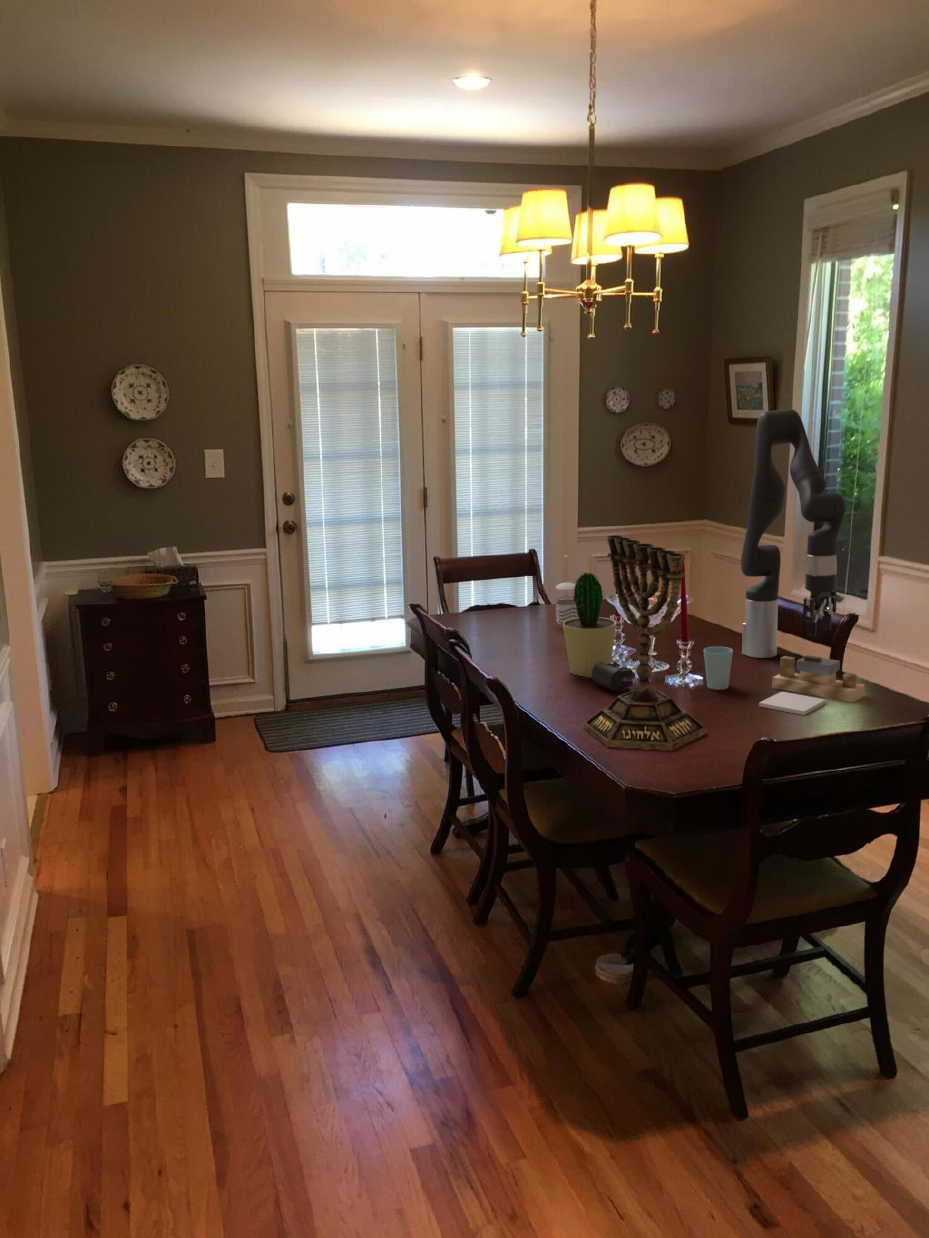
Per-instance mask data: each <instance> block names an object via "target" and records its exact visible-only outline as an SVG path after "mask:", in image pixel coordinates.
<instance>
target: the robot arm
mask: <svg viewBox="0 0 929 1238" xmlns="http://www.w3.org/2000/svg"><path fill="white" fill-rule="evenodd" d="M756 422H757V423H756V429H755V430H756V433H755V451H754V452H755V453H754V454H755V457H754V468H753V476H752V482H751V490H750V497H749V505H748V507H749V508H748V509H749V510H748V516H747V517H748V519H747V525H746V526H747V527H746V531H745V536H744V542H743V546H742V549H741V550H742V551H741V556H740V557H741V558H740V570H741V572H742V574H743V575H744V576H745V577H751V578H753V577H755V578H756V577H764V579H763V580H762V581H761V582H758V583H757V584H755V585H752V586H750V587H748V588H747V589H746V591H745V620H744V622H743V623H742V625H741V626H742V630H741V631H742V632H741V633H742V634H741V635H742V636H741V637H742V639H741V640H742V642H741V643H742V644H741V654H742V655H745V656H748V657H751V658H755V659H756V658H759V659H766V658H774V657H776V656H777V655H778V654H777V649H778V617H779V616H778V615H779V614H778V613H779V612H778V611H779V609H778V608H779V590H780V572H781V561H782V560H781V559H782V558H781V556H782V555H781V551H780V548H779V546H777V545H776V544H759V543H760V541H761V539H762V536H763V535H764V534H765V532H766V530H767V529H768V528H769V527H770V526H771V525H772V524H773V523H774V522H775V520H776V519H777V518H778V517H779V516H780V514H781V512H782V510H783V507H784V501H785V495H786V485H785V482H784V480H783V478H782V476H781V475H780V473H779V471H778V470H777V467H776V466H775V464H774V462H773V458H772V449H773V446H774V445H775V446H776V445H785V444H787V445H788V444H791V446H793V449H794V452H793V456H792V458H791V461H790V465H789V474H790V478H791V479H792V482H793V484H794V485H795V488H796V490H797V492H798V497H799V502H800V512H801V516H802V518H804V519H805V520H806V521H807V522H809V523H821V522H822V523H823V522H824V523H823V525H822V527H821V528H819V529H816V530H813V531H811V532H810V533H809V534H808V536H807V549H806V550H807V551H806V553H807V554H806V560H805V579H804V580H805V581H804V583H805V584H804V585H805V587H804V588H805V590H806V591H809V592H810V595H809V597H804V598H803V604H802V605H803V607H802V621H804V622H806V623H807V626H806V635H807V637H809V638H815V637H817V628H818V624H817V621H818V619H819V617H820V616H821V615H822V616H821V630H822V631H828V632H829V631H831V630H832V619H833V618H832V617H833V616H834V613H836V612H837V590H836V589H837V572H838V561H837V560H838V559H837V547H838V546H837V543H838V542H837V541H838V536H839V533H840V529H841V526H842V523H843V520H844V517H845V514H846V502H845V499H844V497H843V496H842V495H841V494H839V493H837V492H836V493H834V492H830V493H824V492H825V490H826V487H827V482H826V480H825V478H824V475H823V474H822V472H821V470H820V468H819V467H818V464H817V462H816V460H815V457H814V456H813V452H812V450H811V449H812V448H811V446H810V443H809V439H808V436H807V432H806V429H805V426H804V423H803V420H802V418H801V415H800V414H799V412H797V411H796V410H795V409H791V408H789V409H778V410H777V409H776V410H769V411H764V412H762V413H760V414H759V416H758V419H757V421H756Z"/></svg>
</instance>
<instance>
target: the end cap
mask: <svg viewBox="0 0 929 1238" xmlns="http://www.w3.org/2000/svg"><path fill="white" fill-rule="evenodd" d="M620 666H621V664H620V663H617V662H611V663H610V664H605V663H603V662H599V663H597V664H596V665H595V666H594V667H593V670H592V677H591V678H592V680H593V681H594V682H595V683H596V684H598V685H600V686H601V687H603V688H604V689H608V690H610V691H612V692H614V693H617V694H624V693H627V692H630V691H632V688H631V687H633V680H631V679H629V680H625V681H624V678H628V677H632V676H633V670H632V668H630V667H627V666H624V667H620Z"/></svg>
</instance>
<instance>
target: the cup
mask: <svg viewBox="0 0 929 1238" xmlns="http://www.w3.org/2000/svg"><path fill="white" fill-rule="evenodd" d="M733 654H734V650H733V649H732V648H731V647H726V646H708V647H705V648H704V649H703V658H704V669H705V678H706V686H707V688H708V689H711V690H716V691H718V690H719V691H720V690H726V689H728V688H729V684H730V683H729V682H730V678H731V677H730V675H731V669H732V668H731V667H732V659H733Z"/></svg>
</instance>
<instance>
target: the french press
mask: <svg viewBox="0 0 929 1238" xmlns="http://www.w3.org/2000/svg"><path fill="white" fill-rule="evenodd" d="M562 558H563V559H564V560H565V573H566V575H565V577H566V581H565V582H562V583H558V584H557V585H556V586H555V587H554V588H555V590H557V591H562V592H563V591H564V592H565V591H566V592H569V591H574V589H575V588H574V587H575V585H576V584H575V585H574V582H573V583H572V582H569V581H568V571H567V570H568V569H567V568H568V567H567V560H568V559H569V558H570V557H569V555H567V554H565V555H563V557H562ZM573 586H574V587H573ZM572 589H573V590H572ZM571 599H574V596H573V597H572V596H568V595H565V596H558V597H557V598H556V600H557V601H556V602H555V611H556V612H555V620H556V622H557V623H558V624H561V623H559V621H560V622H564V621H566V620H569V619H574V618H579V617H578V615H577V613H576V611H577V609H576V603H574V600H571ZM574 610H575V611H574ZM575 614H576V615H575ZM562 619H565V620H562ZM556 622H555V623H556Z"/></svg>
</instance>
